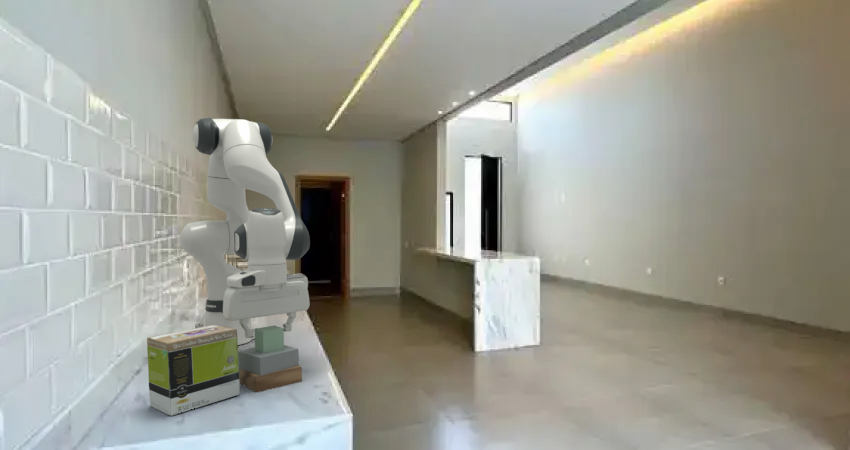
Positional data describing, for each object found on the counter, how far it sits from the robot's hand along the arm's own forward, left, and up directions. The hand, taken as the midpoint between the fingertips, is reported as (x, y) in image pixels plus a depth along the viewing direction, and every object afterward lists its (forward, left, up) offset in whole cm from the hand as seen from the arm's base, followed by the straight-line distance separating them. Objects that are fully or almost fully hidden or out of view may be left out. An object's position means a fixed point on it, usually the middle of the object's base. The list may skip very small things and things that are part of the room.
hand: (268, 334), depth 119 cm
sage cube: (0, 0, -4) cm, 4 cm away
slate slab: (0, 0, -8) cm, 8 cm away
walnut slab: (0, 0, -12) cm, 12 cm away
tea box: (+2, -17, -11) cm, 21 cm away
